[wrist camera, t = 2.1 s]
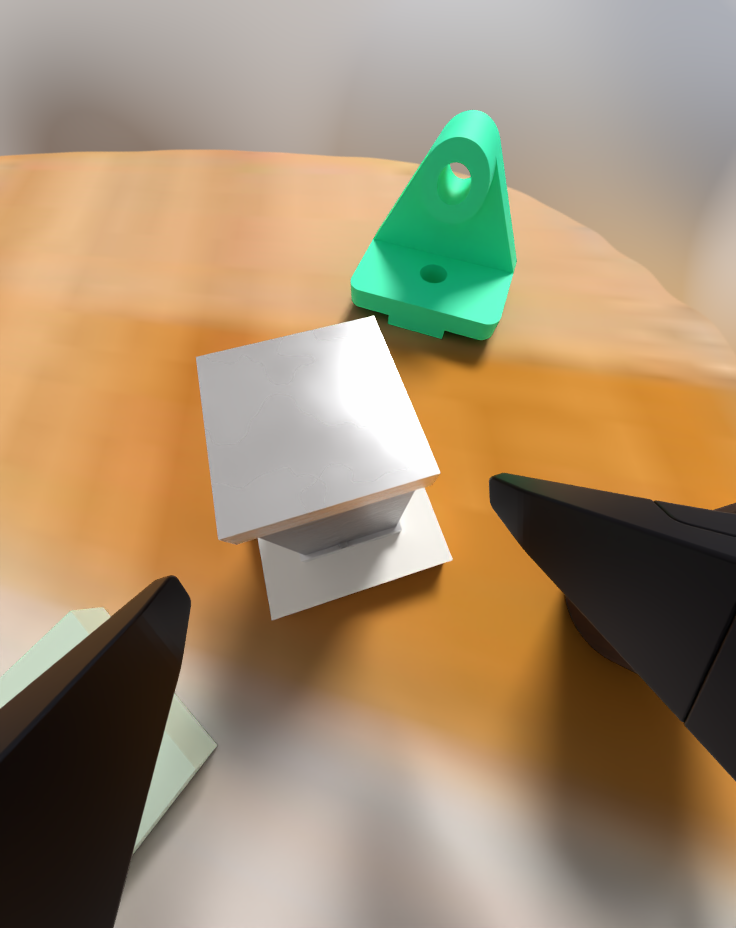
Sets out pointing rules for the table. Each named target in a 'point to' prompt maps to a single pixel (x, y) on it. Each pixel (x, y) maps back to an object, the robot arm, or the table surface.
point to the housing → (311, 440)
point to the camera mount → (445, 240)
